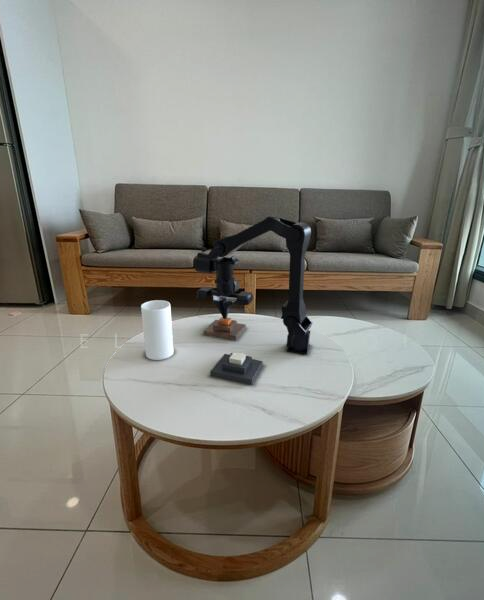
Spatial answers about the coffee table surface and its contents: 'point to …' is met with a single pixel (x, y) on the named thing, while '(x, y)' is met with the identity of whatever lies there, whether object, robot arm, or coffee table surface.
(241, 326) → the stepped brown pyramid
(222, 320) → the key back
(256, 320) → the coffee table surface
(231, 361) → the key front
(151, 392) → the coffee table surface
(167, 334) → the cup
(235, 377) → the dark grey stepped stand
